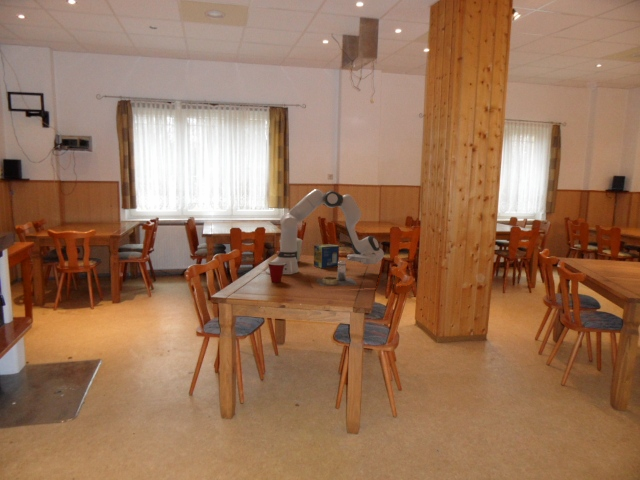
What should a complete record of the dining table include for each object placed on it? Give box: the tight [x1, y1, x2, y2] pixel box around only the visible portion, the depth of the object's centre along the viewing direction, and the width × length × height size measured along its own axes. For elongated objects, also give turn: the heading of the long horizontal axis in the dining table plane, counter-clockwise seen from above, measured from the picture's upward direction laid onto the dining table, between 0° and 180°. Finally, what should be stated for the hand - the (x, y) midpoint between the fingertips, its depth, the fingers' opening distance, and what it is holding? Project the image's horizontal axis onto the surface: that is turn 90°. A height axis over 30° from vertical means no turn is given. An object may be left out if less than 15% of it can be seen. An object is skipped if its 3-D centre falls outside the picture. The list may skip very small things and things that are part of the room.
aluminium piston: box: [337, 260, 347, 281], centre depth 280 cm, size 5×5×12 cm
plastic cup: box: [267, 261, 285, 284], centre depth 277 cm, size 11×11×12 cm
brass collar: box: [321, 276, 338, 286], centre depth 272 cm, size 10×10×3 cm
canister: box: [278, 237, 304, 263], centre depth 343 cm, size 18×18×21 cm
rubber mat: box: [315, 278, 359, 287], centre depth 276 cm, size 23×17×1 cm
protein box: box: [313, 243, 340, 269], centre depth 328 cm, size 10×15×16 cm
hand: (354, 260), depth 288 cm, fingers open, 8 cm apart
